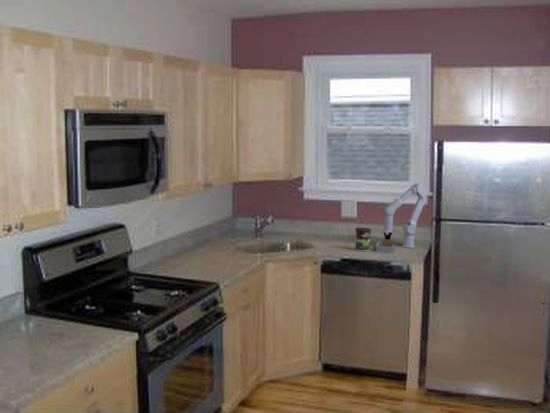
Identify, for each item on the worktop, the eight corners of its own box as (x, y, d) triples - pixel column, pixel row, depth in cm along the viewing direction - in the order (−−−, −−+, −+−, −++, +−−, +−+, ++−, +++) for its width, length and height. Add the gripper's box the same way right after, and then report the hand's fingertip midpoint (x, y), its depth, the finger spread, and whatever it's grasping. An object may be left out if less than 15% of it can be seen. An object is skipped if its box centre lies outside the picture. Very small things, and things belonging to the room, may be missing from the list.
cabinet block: (382, 247, 423) (383, 239, 422) (392, 248, 421) (392, 239, 420) (382, 249, 419) (382, 240, 418) (391, 249, 417) (392, 241, 416)
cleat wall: (378, 246, 428) (378, 240, 427) (395, 247, 424) (395, 241, 424) (375, 251, 410) (375, 245, 410) (393, 252, 407) (393, 247, 407)
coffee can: (372, 250, 413) (373, 229, 411) (359, 251, 409) (360, 230, 407) (365, 247, 422) (365, 227, 420) (351, 248, 418) (352, 227, 416)
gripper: (383, 221, 433) (382, 240, 435) (381, 224, 419) (380, 244, 421) (393, 222, 431) (392, 241, 433) (392, 225, 417) (390, 245, 419)
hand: (387, 243), depth 427 cm, fingers closed
